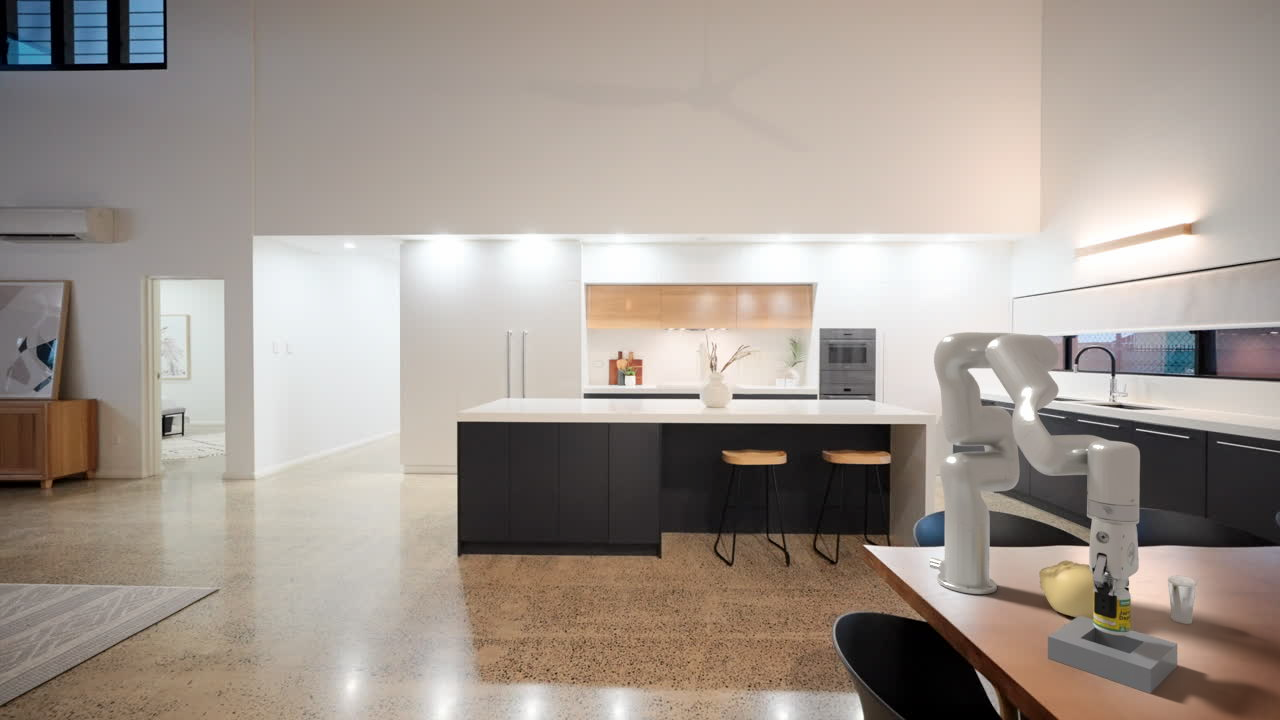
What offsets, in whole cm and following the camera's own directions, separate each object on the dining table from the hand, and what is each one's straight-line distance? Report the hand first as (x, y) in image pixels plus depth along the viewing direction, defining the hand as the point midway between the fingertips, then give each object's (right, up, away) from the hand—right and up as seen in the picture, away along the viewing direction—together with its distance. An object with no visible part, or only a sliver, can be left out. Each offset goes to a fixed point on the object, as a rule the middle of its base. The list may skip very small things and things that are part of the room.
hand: (1111, 610), depth 114 cm
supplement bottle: (0, -4, 0) cm, 4 cm away
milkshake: (+27, -9, +17) cm, 33 cm away
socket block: (0, -9, 0) cm, 9 cm away
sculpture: (+8, -9, +21) cm, 24 cm away
